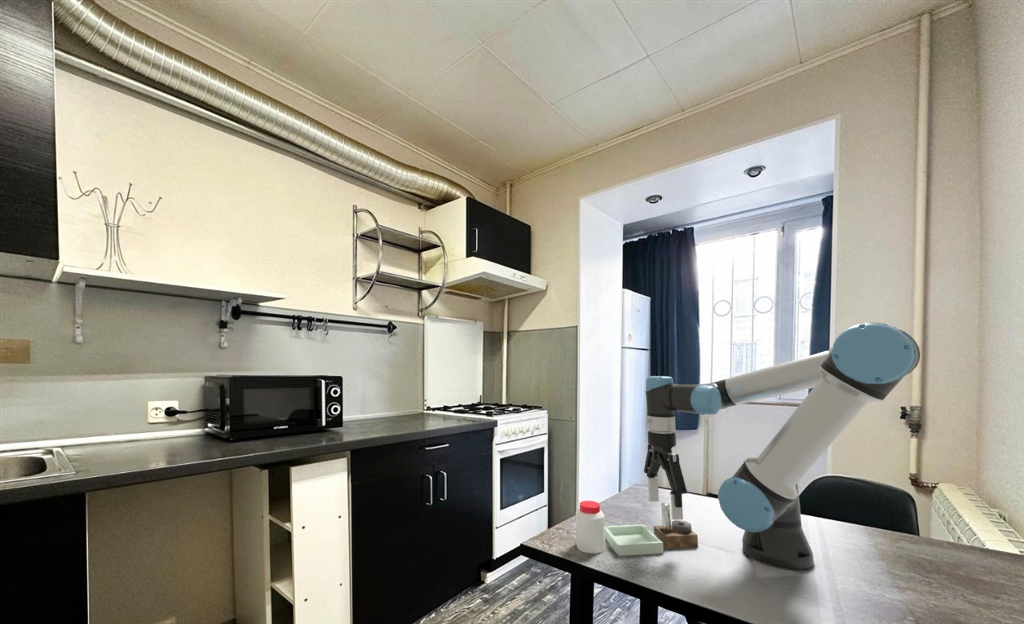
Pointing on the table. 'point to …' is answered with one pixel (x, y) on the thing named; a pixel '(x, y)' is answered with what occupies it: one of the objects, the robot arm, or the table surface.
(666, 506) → the clear translucent rod
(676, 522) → the brown and grey block
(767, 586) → the table surface
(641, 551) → the tray
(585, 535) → the pill bottle
